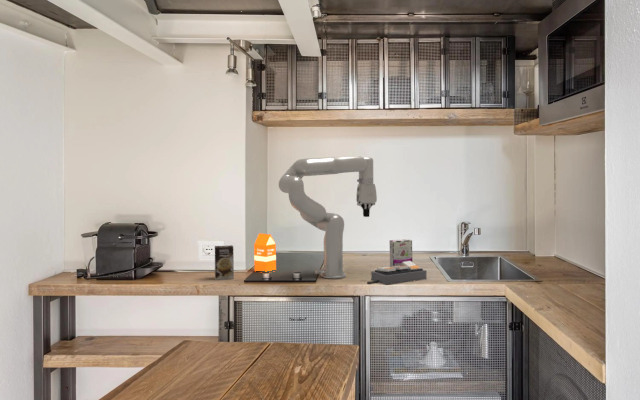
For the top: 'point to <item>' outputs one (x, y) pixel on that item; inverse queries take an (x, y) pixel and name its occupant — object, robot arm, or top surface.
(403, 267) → the rocker middle
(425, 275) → the power strip
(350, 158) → the robot arm
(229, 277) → the coffee box
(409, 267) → the rocker right
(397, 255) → the candy bar box
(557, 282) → the top surface
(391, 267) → the rocker left
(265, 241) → the orange juice
